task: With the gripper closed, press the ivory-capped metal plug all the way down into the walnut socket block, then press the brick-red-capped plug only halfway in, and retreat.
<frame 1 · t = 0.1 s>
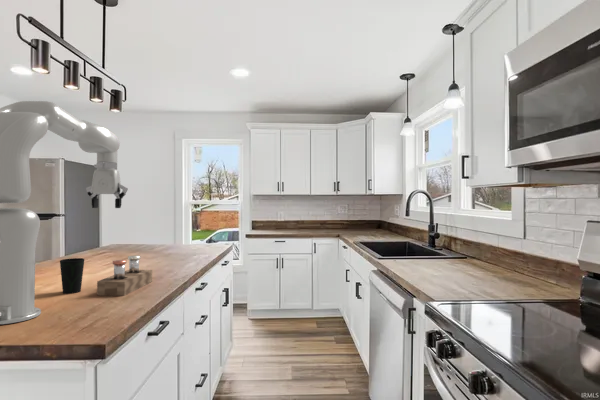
hand: (106, 207, 145), 31 cm above the counter, fingers open, 9 cm apart
cup: (71, 292, 128), on the counter
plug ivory: (134, 264, 141), point 8 cm above the counter, slide at 0.0 cm
socket block: (126, 287, 135), on the counter
plug red: (119, 270, 130), point 8 cm above the counter, slide at 0.0 cm
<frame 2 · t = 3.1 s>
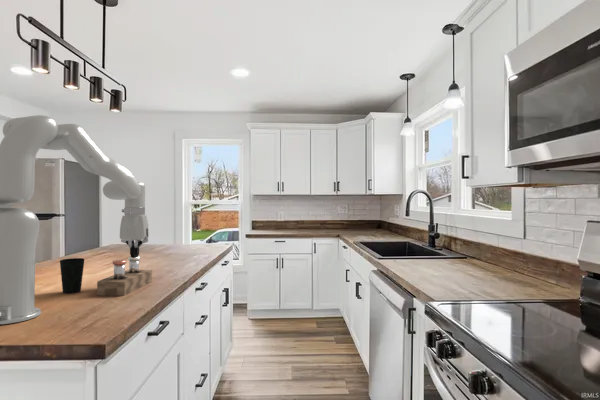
hand: (134, 256, 141), 11 cm above the counter, fingers closed
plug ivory: (134, 265, 141), point 8 cm above the counter, slide at 0.3 cm, touching gripper
everything else where it was.
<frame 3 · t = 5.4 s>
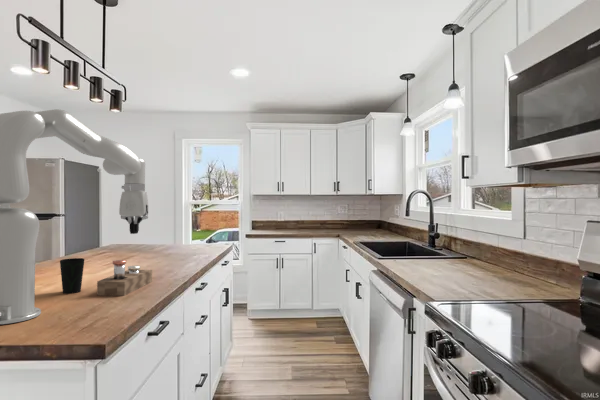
hand: (134, 233, 140), 21 cm above the counter, fingers closed
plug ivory: (134, 275, 141), point 4 cm above the counter, slide at 4.2 cm
everything else where it was.
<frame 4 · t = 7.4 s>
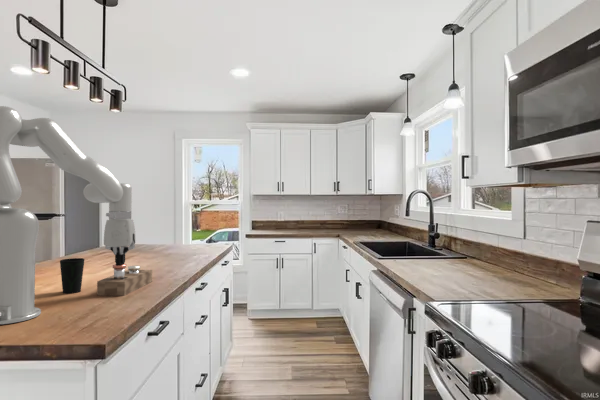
hand: (120, 264, 130), 10 cm above the counter, fingers closed
plug red: (119, 274, 130), point 7 cm above the counter, slide at 1.5 cm, touching gripper
everything else where it was.
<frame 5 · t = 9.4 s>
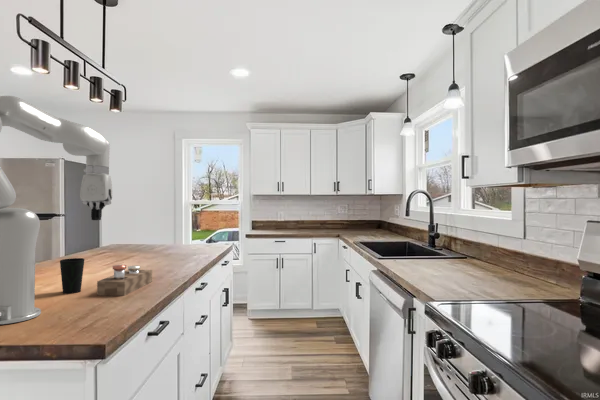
hand: (96, 219, 130), 27 cm above the counter, fingers closed
plug red: (119, 275, 130), point 6 cm above the counter, slide at 1.9 cm
everything else where it was.
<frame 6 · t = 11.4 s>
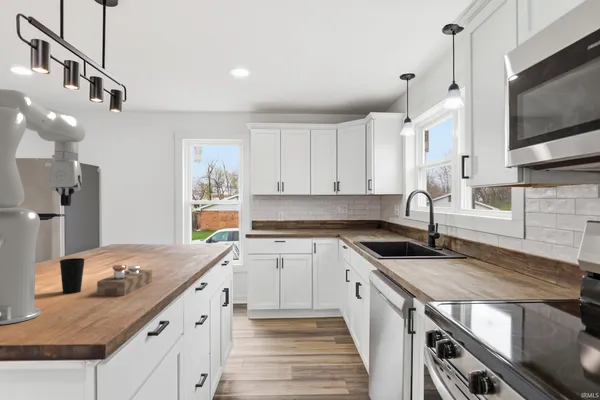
hand: (65, 205, 132), 32 cm above the counter, fingers closed
nothing on the counter moved.
at the end: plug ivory slide at 4.2 cm; plug red slide at 1.9 cm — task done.
